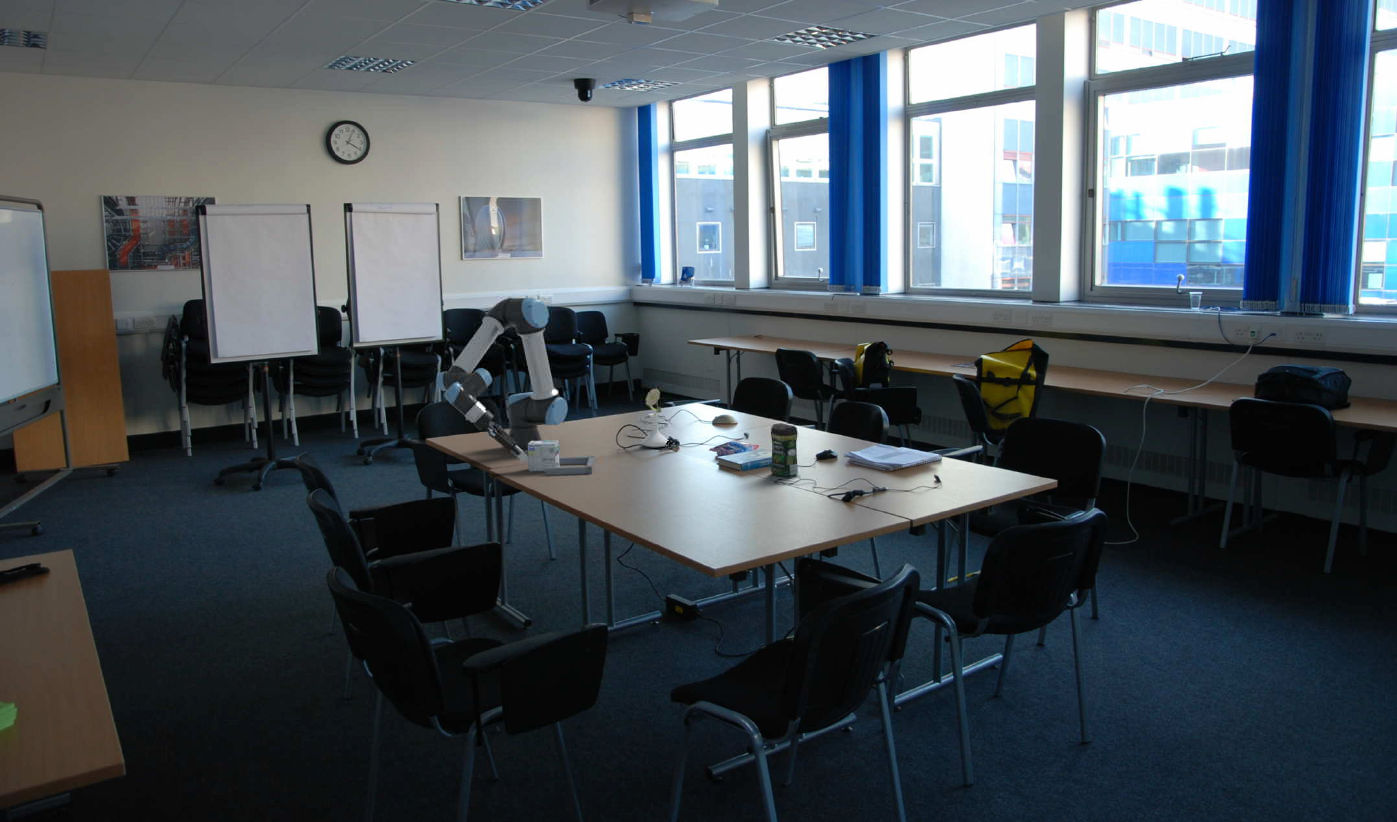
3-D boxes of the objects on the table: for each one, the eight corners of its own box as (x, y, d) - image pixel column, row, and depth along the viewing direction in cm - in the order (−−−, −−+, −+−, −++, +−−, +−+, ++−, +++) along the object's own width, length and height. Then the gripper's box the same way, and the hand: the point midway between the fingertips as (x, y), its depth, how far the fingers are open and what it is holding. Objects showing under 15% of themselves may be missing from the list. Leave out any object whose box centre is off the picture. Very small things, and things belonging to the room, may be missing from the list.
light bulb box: (560, 467, 371) (558, 439, 369) (556, 471, 364) (555, 443, 363) (532, 467, 371) (530, 440, 370) (528, 471, 365) (527, 443, 363)
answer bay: (551, 463, 378) (550, 457, 378) (594, 462, 379) (594, 456, 378) (545, 475, 358) (545, 468, 358) (591, 473, 359) (591, 467, 359)
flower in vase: (639, 445, 412) (637, 386, 408) (665, 443, 415) (663, 385, 411) (646, 450, 400) (644, 390, 396) (673, 448, 403) (671, 389, 399)
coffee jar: (767, 474, 352) (766, 423, 349) (784, 470, 356) (783, 421, 353) (784, 478, 344) (784, 427, 341) (801, 475, 348) (801, 424, 346)
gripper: (476, 420, 369) (522, 463, 372) (469, 426, 356) (517, 470, 360) (489, 406, 369) (535, 449, 372) (483, 412, 356) (530, 456, 359)
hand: (526, 459), depth 366 cm, fingers closed
